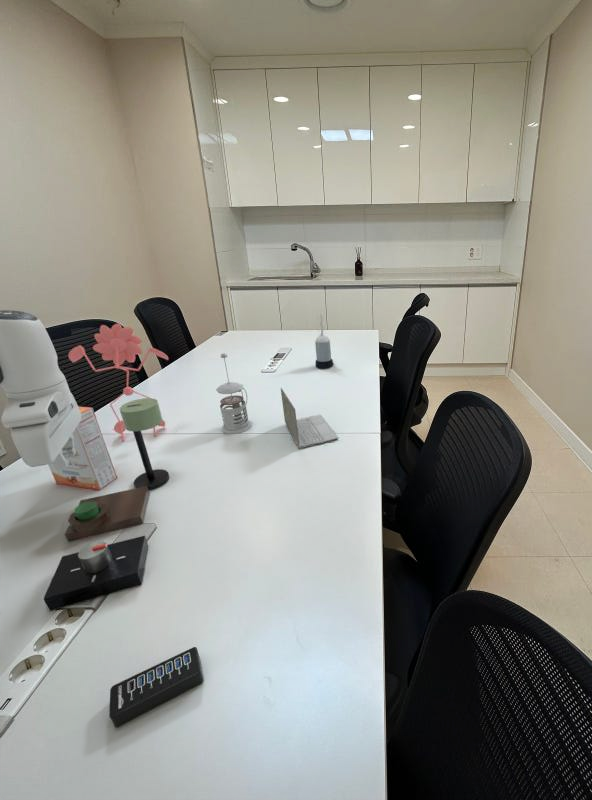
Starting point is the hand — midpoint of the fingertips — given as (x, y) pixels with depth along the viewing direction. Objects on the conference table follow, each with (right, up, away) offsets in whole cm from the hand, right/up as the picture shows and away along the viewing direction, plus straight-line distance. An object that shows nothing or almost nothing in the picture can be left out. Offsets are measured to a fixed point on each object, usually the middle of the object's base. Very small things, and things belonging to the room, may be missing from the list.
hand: (67, 461), depth 78 cm
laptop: (+42, +2, +45) cm, 62 cm away
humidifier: (+39, +28, +104) cm, 115 cm away
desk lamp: (+5, -9, +22) cm, 24 cm away
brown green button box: (+2, -14, +10) cm, 18 cm away
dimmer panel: (+11, -21, -5) cm, 24 cm away
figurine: (-13, +3, +49) cm, 51 cm away
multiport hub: (+32, -28, -23) cm, 49 cm away
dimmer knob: (+11, -18, -6) cm, 22 cm away
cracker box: (-13, -9, +23) cm, 28 cm away
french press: (+17, +4, +50) cm, 53 cm away
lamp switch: (0, -12, +5) cm, 13 cm away
